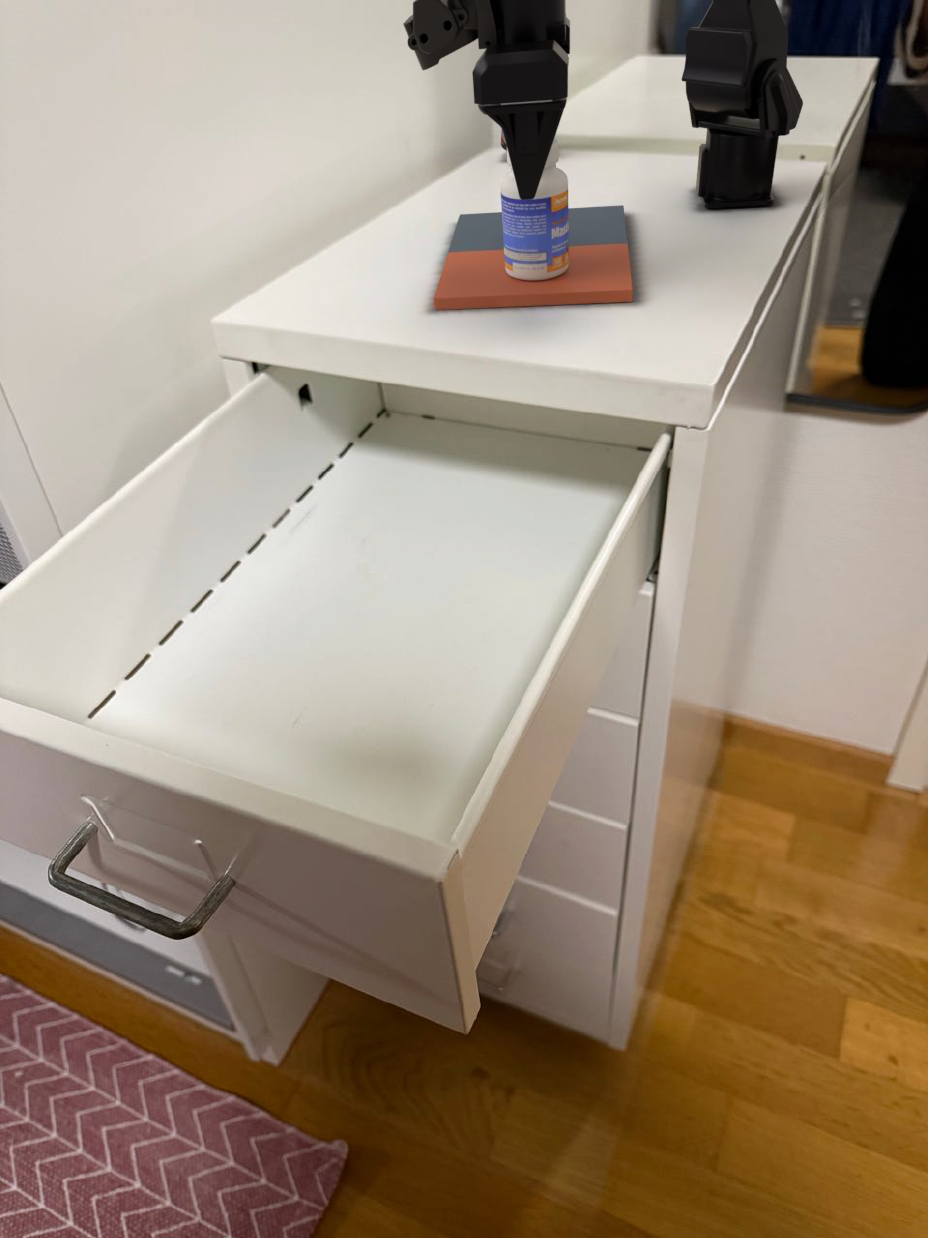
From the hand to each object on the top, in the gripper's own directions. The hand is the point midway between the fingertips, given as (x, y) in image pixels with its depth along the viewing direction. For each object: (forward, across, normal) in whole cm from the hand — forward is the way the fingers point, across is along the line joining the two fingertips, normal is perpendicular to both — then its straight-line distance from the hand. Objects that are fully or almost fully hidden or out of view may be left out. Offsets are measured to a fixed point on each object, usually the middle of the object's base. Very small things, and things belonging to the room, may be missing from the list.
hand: (529, 180), depth 69 cm
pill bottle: (+7, 0, 0) cm, 7 cm away
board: (+8, -6, 0) cm, 10 cm away
